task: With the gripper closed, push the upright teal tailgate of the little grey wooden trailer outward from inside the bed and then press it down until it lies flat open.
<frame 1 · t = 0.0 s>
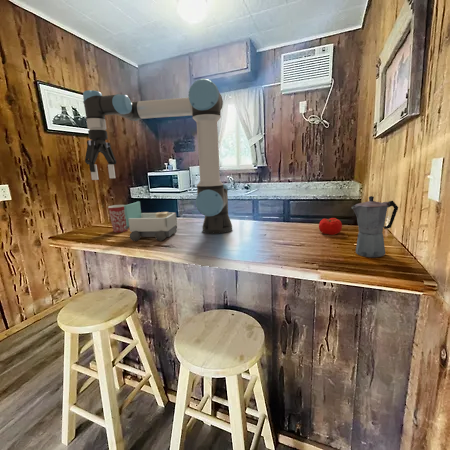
hand: (104, 179, 117), 28 cm above the table, fingers open, 13 cm apart
tomato: (329, 233, 117), on the table
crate: (162, 223, 123), point 6 cm above the table, touching trailer
moka pot: (370, 254, 89), on the table
tailgate: (133, 214, 123), point 11 cm above the table, hinge at 0.0°
trailer: (155, 235, 124), on the table
mug: (123, 230, 139), on the table
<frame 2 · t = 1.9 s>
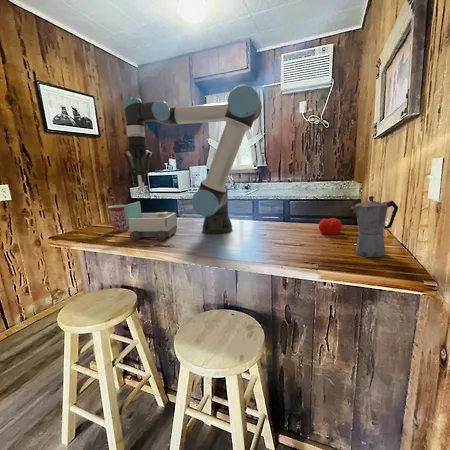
hand: (141, 189, 120), 23 cm above the table, fingers closed
nothing on the table moved.
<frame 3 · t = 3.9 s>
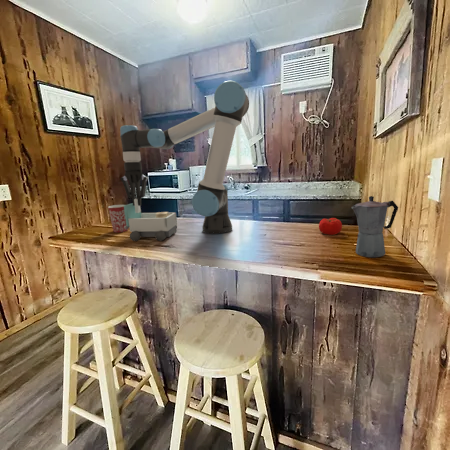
hand: (138, 212, 123), 12 cm above the table, fingers closed
tailgate: (133, 214, 123), point 11 cm above the table, hinge at 0.9°, touching gripper
everything else where it was.
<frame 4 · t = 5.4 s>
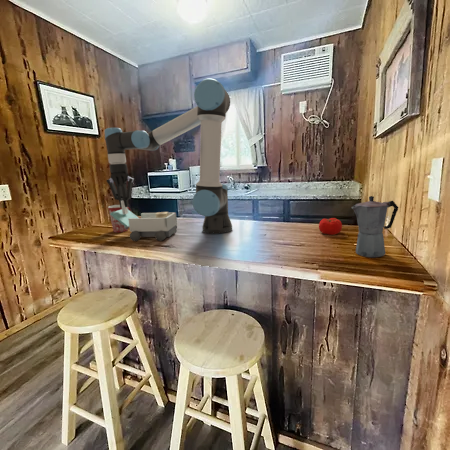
hand: (125, 213, 123), 11 cm above the table, fingers closed
tailgate: (127, 217, 124), point 9 cm above the table, hinge at 49.1°
everything else where it was.
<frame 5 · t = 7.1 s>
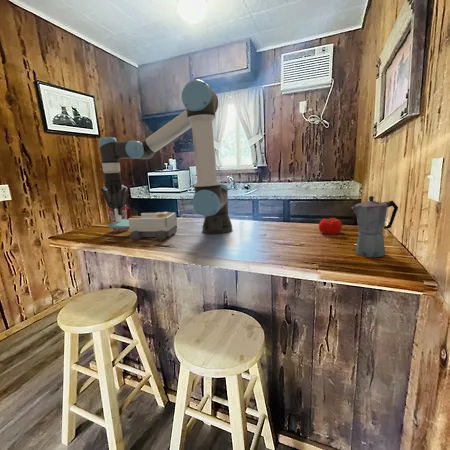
hand: (118, 221, 125), 7 cm above the table, fingers closed
tailgate: (125, 223, 125), point 6 cm above the table, hinge at 86.8°, touching gripper
everything else where it was.
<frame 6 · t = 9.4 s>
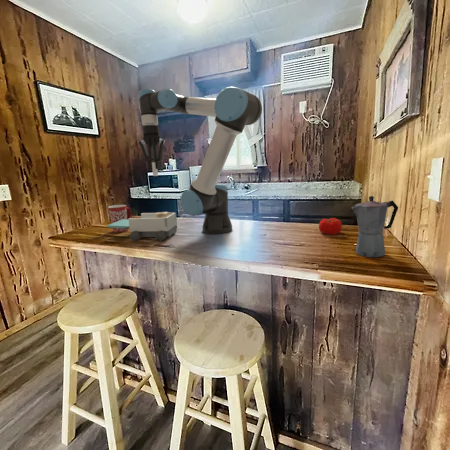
hand: (155, 175, 127), 28 cm above the table, fingers closed
tailgate: (125, 223, 125), point 6 cm above the table, hinge at 86.9°
everything else where it was.
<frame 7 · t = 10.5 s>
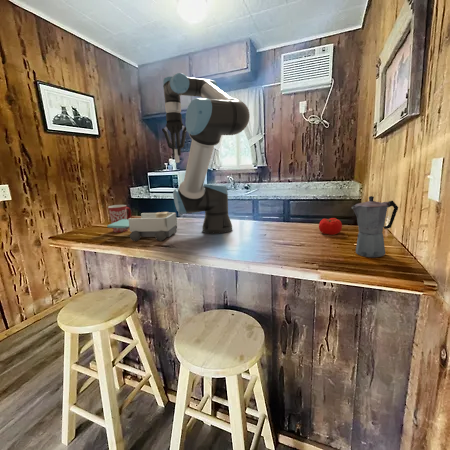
hand: (177, 162, 131), 34 cm above the table, fingers closed
nothing on the table moved.
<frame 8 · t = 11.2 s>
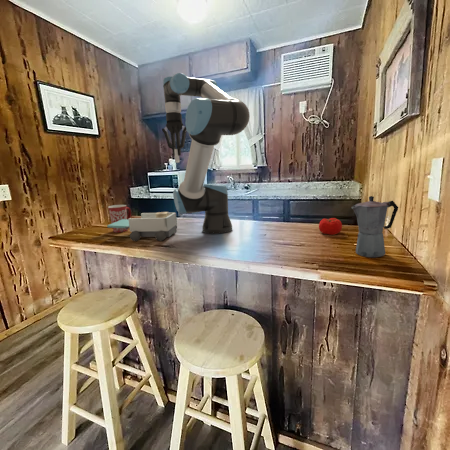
hand: (177, 162, 131), 34 cm above the table, fingers closed
nothing on the table moved.
at the end: tailgate at +87° (first picture: +0°); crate moved 0.1 cm from its start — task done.
